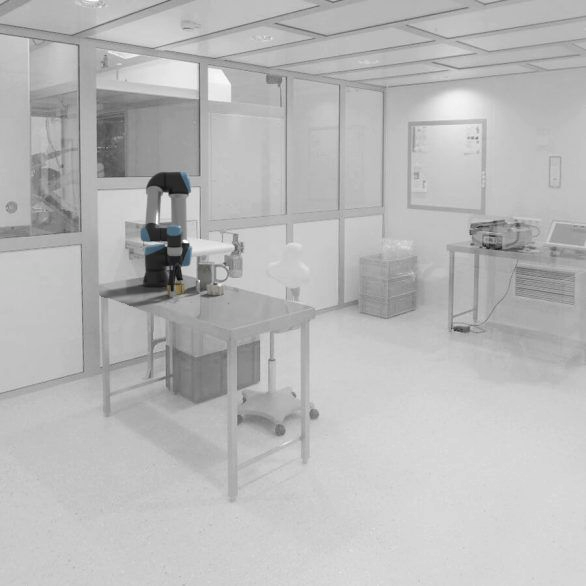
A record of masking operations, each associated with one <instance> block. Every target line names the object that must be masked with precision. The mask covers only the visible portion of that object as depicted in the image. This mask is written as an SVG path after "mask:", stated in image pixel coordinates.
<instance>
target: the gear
mask: <svg viewBox="0 0 586 586" xmlns="http://www.w3.org/2000/svg"><path fill="white" fill-rule="evenodd" d="M206 294H207V295H209V296H210V295H211V296H220V295H225V285H224V284H223V283H218V282H215V283H213V284H209V285H207V289H206Z"/></svg>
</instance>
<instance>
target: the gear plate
mask: <svg viewBox="0 0 586 586" xmlns="http://www.w3.org/2000/svg"><path fill="white" fill-rule="evenodd" d="M195 293H196V295H199V294H201V289H200V281H198V280H195Z"/></svg>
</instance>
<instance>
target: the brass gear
mask: <svg viewBox="0 0 586 586" xmlns="http://www.w3.org/2000/svg"><path fill="white" fill-rule="evenodd" d="M166 288H167V294H166V295H167V296H169V297H170V285H167V286H166ZM185 290H186V289H185V283H183V282H182V283H176V282H175V296H174V297H176V296H179V295H183V294H185V292H186V291H185Z"/></svg>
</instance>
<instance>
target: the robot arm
mask: <svg viewBox="0 0 586 586" xmlns="http://www.w3.org/2000/svg"><path fill="white" fill-rule="evenodd" d="M164 193H168V194H167V196H168V197H169V198H170V205H171V206H170V210H171V212H170V214H171V216H170V217H171V225H167V226H166V227H160V223H161V222H160V221H161V208H162V207H161V206H162V205H161V203H162V196H163V195H164ZM190 193H192V186H191V179H190V175H189V173H188V172H186V171H184V172H182V171H161V172H157V173H155V174H154V175H153V176H152V177H151V178H150V179H149V180H148V182H147V185H146V188H145V194H146V196H147V197H146V211H145V222H144V223H145V224H144V225H145V227H141V229H140V239H141V241H142V242H148V243H152V242H153V243H154V242H159V243H157V244H150V245H148V246H146V247H145V248H144V263H145V264H144V266H145V270H144V271H145V272H144V276H143V279H142V286H143V285H144V287H148V288H161V287H167V285H170V296H169V298H174V297H176V296H175V283H182V284H183V282H182V281H184V278H183V273H182V272H183V270H182V267H189V266H190V265H191V261H192V257H193V246H191V245H190V242H189V241H188V229H187V227H188V225H187V220H188V219H187V199H188V197H189V196H190ZM160 242H163V243H160ZM164 242H166V243H167V246H166V244H165V243H164ZM167 267H168V269H169V273H167ZM168 274H169V275H168Z"/></svg>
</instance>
